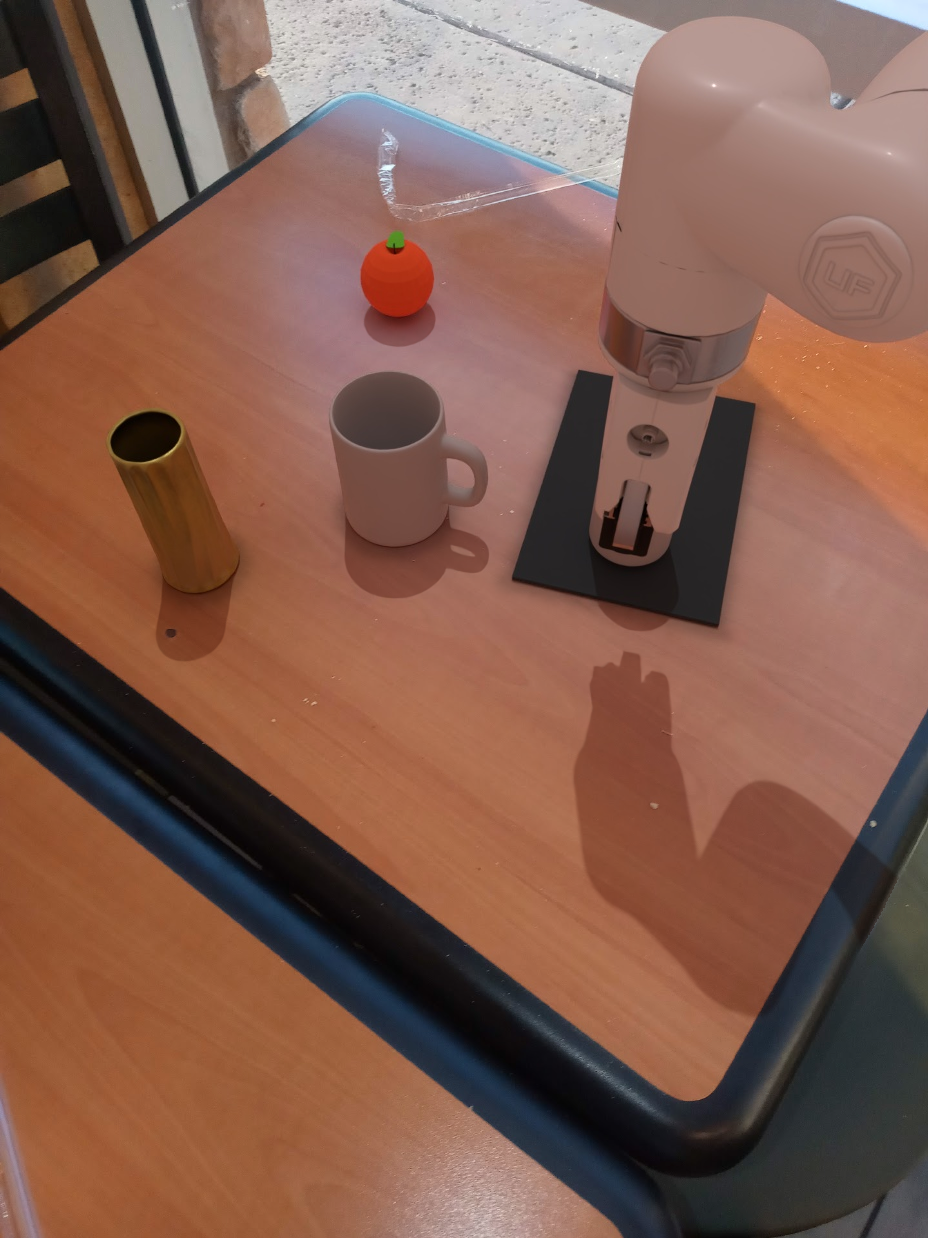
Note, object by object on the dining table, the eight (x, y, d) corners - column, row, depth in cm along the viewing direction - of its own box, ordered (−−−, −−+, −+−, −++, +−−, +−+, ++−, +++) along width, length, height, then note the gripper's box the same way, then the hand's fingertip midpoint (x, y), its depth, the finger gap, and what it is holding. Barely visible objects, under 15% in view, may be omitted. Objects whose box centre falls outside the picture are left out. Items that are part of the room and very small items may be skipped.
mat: (717, 627, 68) (719, 624, 68) (511, 579, 71) (511, 576, 70) (754, 406, 81) (755, 403, 80) (578, 372, 83) (578, 369, 83)
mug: (329, 533, 73) (308, 437, 64) (368, 457, 78) (353, 358, 68) (470, 570, 71) (469, 477, 62) (502, 491, 76) (506, 392, 66)
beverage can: (571, 536, 72) (587, 429, 62) (626, 495, 75) (650, 385, 65) (630, 586, 70) (657, 482, 60) (685, 541, 72) (720, 434, 62)
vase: (150, 589, 71) (84, 464, 59) (176, 527, 74) (118, 397, 62) (226, 599, 70) (174, 475, 58) (248, 536, 73) (204, 406, 61)
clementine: (368, 277, 91) (361, 212, 85) (438, 279, 90) (435, 213, 84) (360, 331, 86) (352, 267, 80) (433, 333, 86) (430, 268, 80)
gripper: (736, 440, 40) (661, 651, 55) (771, 237, 48) (697, 472, 63) (569, 407, 41) (542, 622, 57) (629, 213, 49) (591, 450, 64)
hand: (624, 542), depth 60 cm, fingers closed
